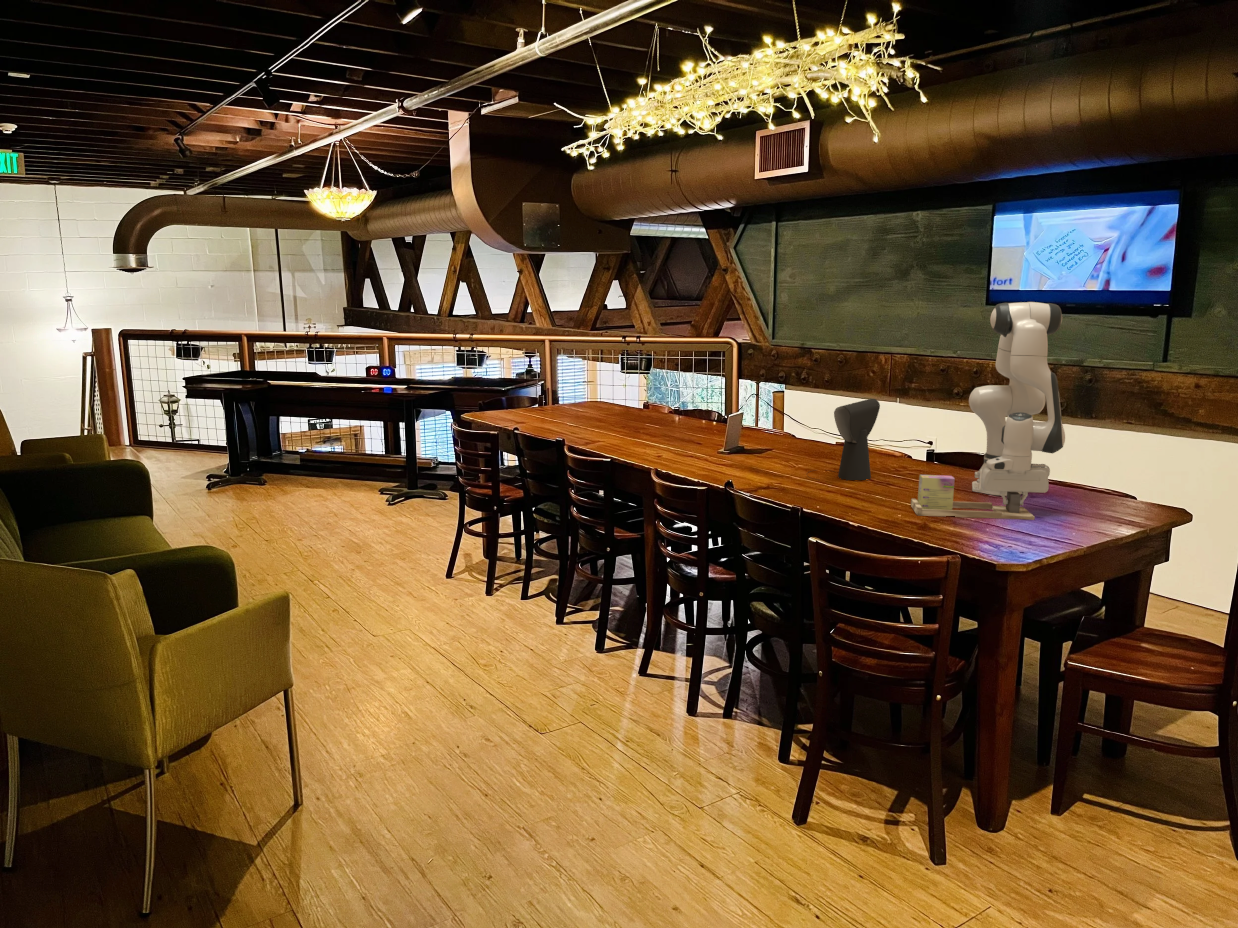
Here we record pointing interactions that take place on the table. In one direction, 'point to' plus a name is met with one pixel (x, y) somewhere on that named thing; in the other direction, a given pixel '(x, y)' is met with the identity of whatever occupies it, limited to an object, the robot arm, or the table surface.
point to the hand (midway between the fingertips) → (1012, 504)
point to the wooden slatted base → (998, 511)
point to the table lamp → (855, 437)
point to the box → (936, 492)
